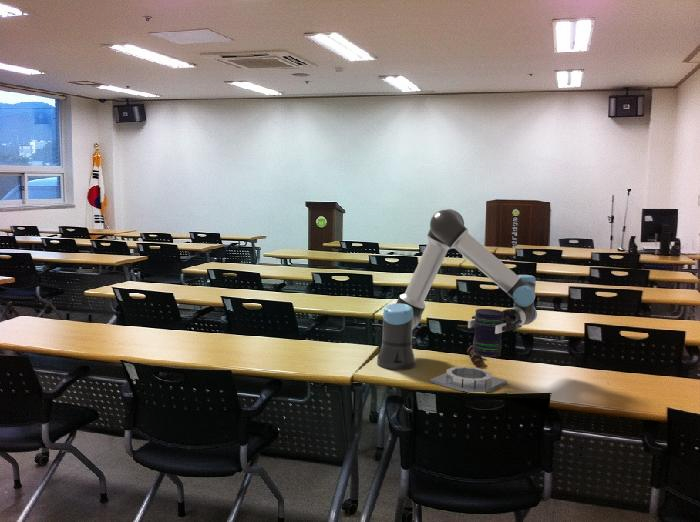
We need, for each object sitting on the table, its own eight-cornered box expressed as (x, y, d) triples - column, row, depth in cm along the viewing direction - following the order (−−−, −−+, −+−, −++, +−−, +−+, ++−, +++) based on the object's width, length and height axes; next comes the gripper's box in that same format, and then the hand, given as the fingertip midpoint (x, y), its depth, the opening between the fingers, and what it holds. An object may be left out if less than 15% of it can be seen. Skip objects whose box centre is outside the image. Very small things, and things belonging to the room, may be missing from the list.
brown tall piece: (475, 371, 226) (471, 359, 241) (487, 366, 226) (482, 354, 240) (468, 358, 226) (465, 347, 241) (480, 353, 225) (476, 342, 240)
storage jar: (467, 351, 203) (469, 310, 201) (482, 347, 210) (484, 307, 208) (491, 358, 196) (494, 315, 194) (506, 353, 203) (509, 312, 201)
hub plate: (429, 382, 205) (430, 372, 204) (458, 371, 220) (459, 361, 219) (479, 396, 192) (480, 386, 191) (506, 383, 207) (507, 373, 206)
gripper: (539, 333, 208) (511, 343, 192) (484, 322, 223) (453, 331, 206) (541, 313, 207) (513, 322, 191) (485, 304, 222) (455, 311, 206)
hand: (482, 326), depth 199 cm, fingers closed on storage jar, 10 cm apart
